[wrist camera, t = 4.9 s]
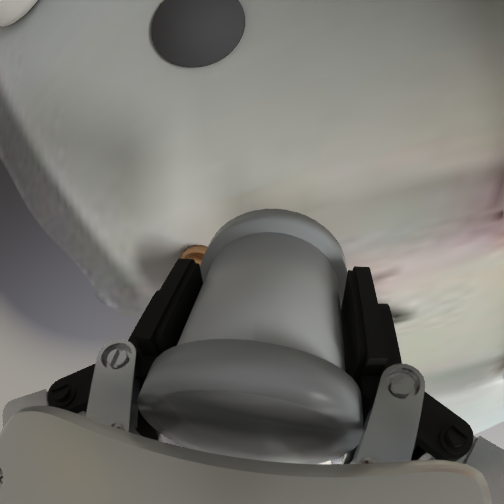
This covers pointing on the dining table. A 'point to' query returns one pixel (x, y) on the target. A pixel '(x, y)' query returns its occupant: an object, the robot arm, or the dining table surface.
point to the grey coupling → (262, 349)
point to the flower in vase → (14, 10)
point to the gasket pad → (197, 30)
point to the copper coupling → (195, 253)
